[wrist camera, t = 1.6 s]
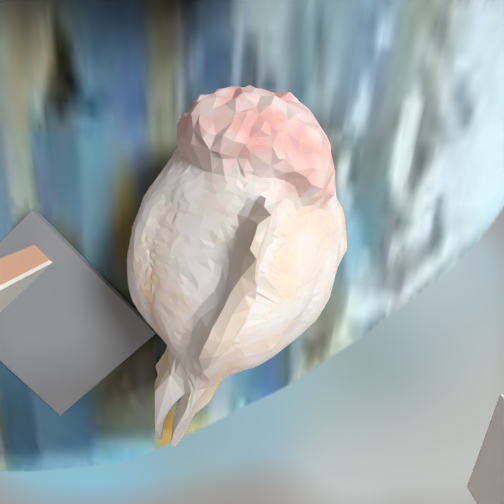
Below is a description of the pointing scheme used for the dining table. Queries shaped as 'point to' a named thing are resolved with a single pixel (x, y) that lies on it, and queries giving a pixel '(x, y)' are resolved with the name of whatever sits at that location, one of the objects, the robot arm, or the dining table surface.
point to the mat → (65, 320)
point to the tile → (20, 272)
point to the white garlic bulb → (234, 242)
